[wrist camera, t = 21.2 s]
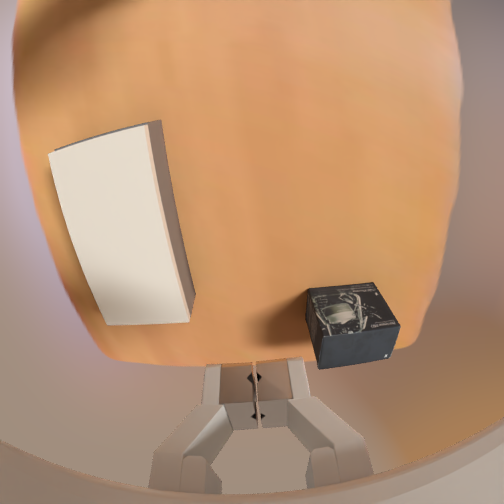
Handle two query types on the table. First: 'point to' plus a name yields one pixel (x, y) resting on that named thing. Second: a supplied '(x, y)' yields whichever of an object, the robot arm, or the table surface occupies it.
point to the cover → (120, 227)
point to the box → (350, 325)
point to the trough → (166, 205)
